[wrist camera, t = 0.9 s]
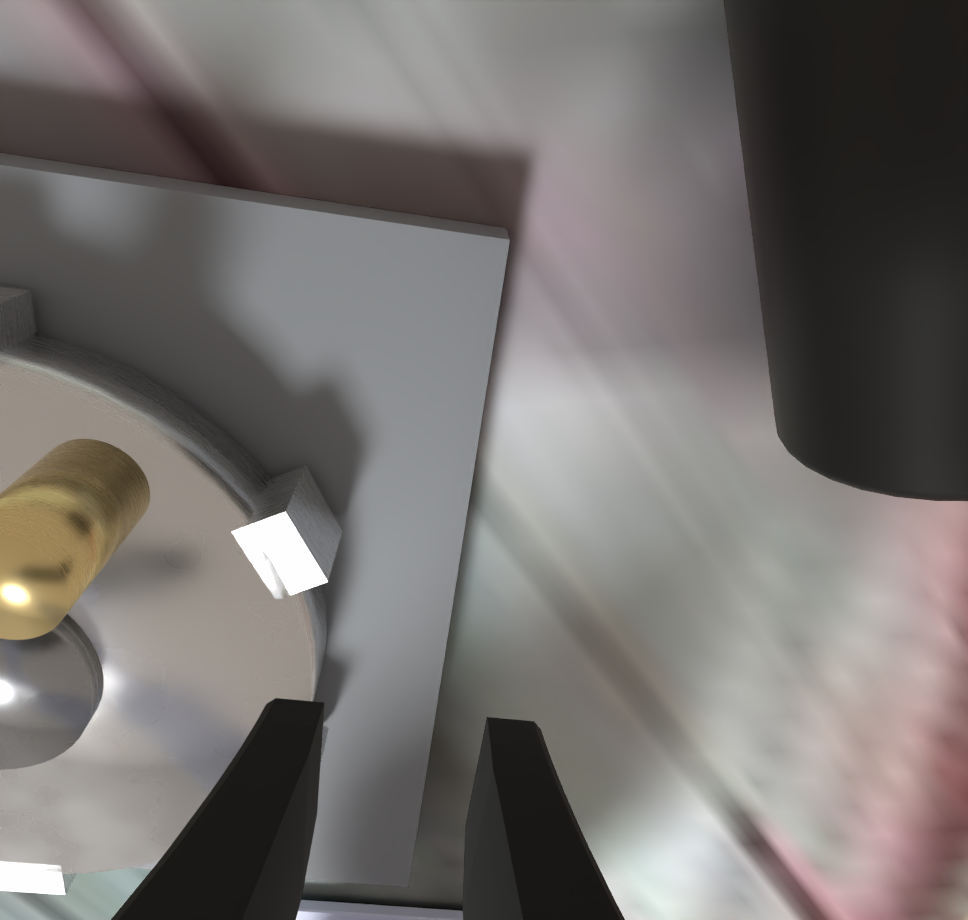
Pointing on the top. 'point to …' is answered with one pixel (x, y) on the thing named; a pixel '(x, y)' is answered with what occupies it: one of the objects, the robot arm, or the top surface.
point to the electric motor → (861, 232)
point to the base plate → (302, 417)
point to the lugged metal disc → (135, 606)
